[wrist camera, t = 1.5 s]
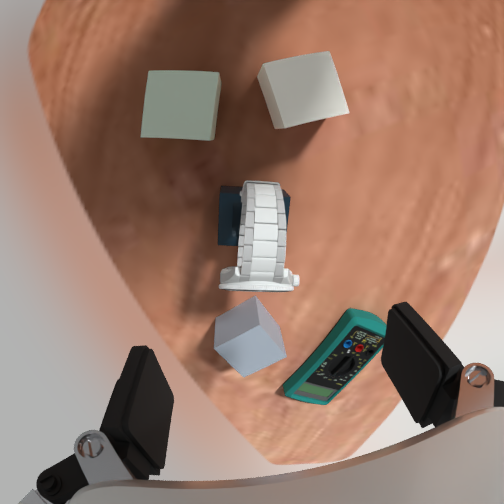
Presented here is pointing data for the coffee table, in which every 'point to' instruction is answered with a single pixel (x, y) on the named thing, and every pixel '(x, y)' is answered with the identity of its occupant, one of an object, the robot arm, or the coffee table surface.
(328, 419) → the coffee table surface
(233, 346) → the slate cube
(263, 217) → the watch
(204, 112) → the sage cube
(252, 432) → the coffee table surface
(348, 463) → the robot arm
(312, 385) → the digital multimeter
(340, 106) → the cream cube
